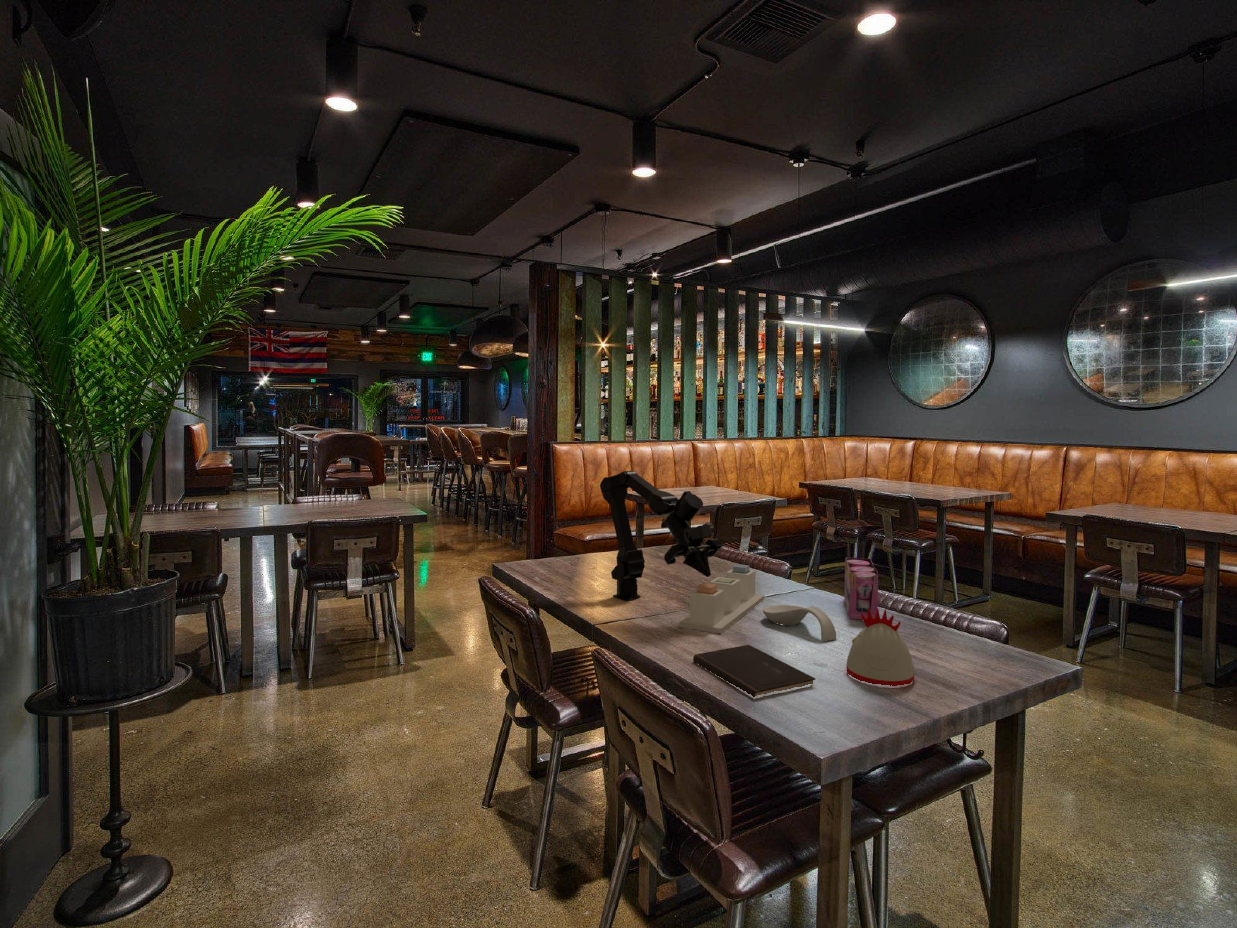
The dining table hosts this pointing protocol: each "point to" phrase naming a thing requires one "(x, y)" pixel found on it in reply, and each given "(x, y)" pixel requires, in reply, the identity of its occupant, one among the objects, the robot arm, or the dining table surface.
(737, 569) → the slate blue button
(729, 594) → the button console
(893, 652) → the tan and red dome
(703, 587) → the terracotta button
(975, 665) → the dining table surface
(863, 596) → the gum box
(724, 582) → the sage green button
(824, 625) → the spoon rest
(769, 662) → the hardcover book
